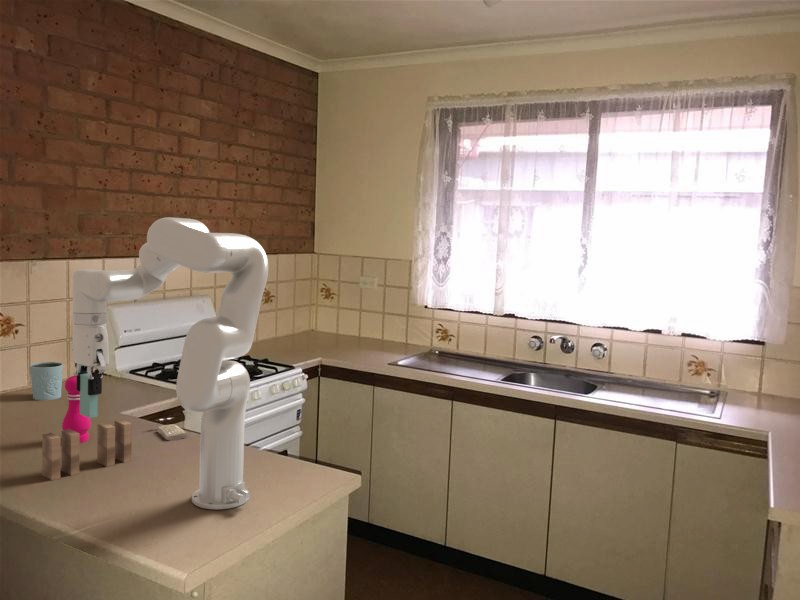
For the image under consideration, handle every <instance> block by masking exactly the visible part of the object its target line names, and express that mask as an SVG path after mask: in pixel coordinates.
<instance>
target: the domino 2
mask: <svg viewBox="0 0 800 600" xmlns="http://www.w3.org/2000/svg"><path fill="white" fill-rule="evenodd" d="M80 444H81V443H80V434H79V433H77V432H75V431H73V430H70V429H68V430H63V429H62V430H61V470H60V472H64V473H65V474H67V475H69V476H71V477H72V476H75V475H79V474H80Z"/></svg>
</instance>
